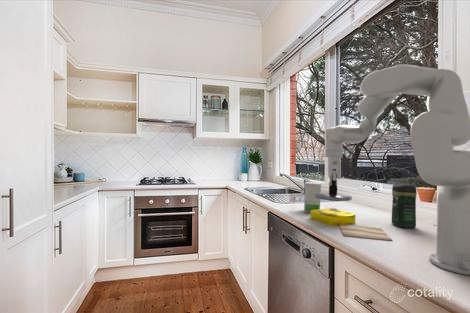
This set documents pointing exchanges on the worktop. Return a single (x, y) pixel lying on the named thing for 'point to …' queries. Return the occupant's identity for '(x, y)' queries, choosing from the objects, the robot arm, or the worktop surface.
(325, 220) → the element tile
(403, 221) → the coffee jar
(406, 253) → the worktop surface
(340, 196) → the lid
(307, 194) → the skincare box
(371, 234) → the mat
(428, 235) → the worktop surface
